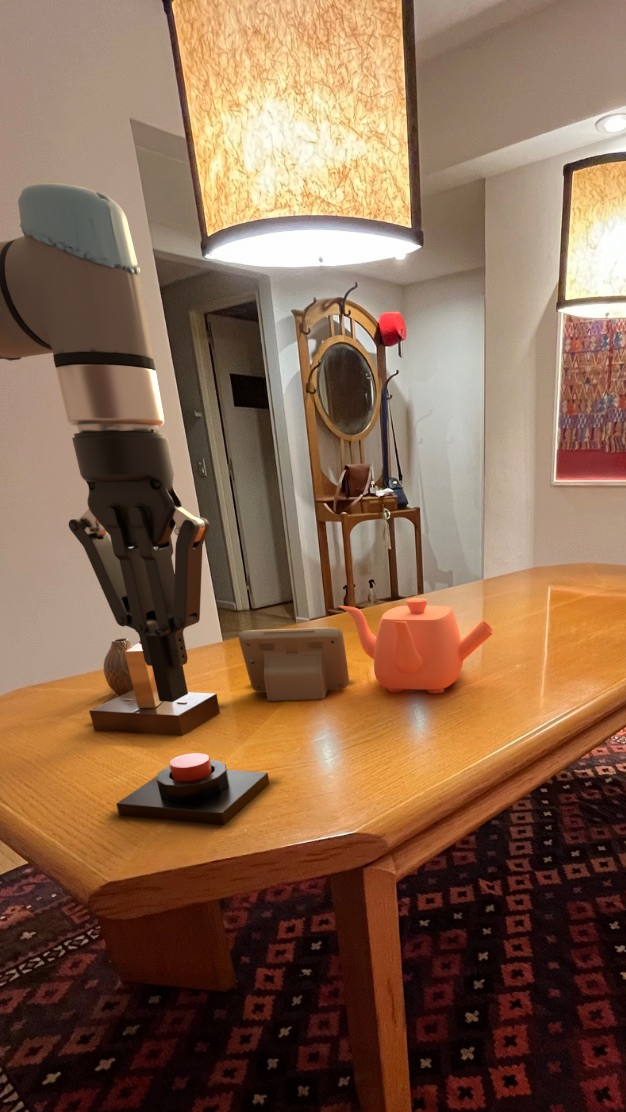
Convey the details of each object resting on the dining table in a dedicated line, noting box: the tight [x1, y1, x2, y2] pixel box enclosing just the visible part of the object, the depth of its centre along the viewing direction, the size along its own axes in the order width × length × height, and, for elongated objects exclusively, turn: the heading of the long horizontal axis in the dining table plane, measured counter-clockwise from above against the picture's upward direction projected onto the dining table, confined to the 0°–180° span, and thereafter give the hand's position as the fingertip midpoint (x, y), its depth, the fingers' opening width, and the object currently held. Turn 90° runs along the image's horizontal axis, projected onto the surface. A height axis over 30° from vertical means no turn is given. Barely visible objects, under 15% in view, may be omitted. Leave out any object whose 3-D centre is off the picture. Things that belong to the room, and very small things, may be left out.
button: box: [169, 752, 212, 781], centre depth 71 cm, size 4×4×2 cm
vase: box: [103, 637, 134, 696], centre depth 109 cm, size 7×7×9 cm
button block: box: [116, 759, 270, 826], centre depth 72 cm, size 12×10×4 cm
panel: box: [88, 690, 221, 737], centre depth 98 cm, size 14×10×3 cm
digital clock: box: [238, 627, 350, 702], centre depth 106 cm, size 16×9×11 cm, turn 81°
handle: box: [125, 640, 162, 708], centre depth 95 cm, size 6×2×8 cm, turn 2°
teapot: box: [339, 597, 495, 694], centre depth 109 cm, size 18×18×14 cm
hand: (173, 697), depth 68 cm, fingers closed
